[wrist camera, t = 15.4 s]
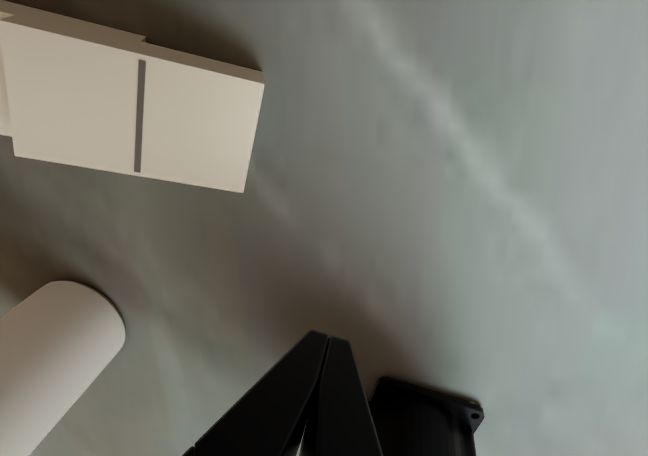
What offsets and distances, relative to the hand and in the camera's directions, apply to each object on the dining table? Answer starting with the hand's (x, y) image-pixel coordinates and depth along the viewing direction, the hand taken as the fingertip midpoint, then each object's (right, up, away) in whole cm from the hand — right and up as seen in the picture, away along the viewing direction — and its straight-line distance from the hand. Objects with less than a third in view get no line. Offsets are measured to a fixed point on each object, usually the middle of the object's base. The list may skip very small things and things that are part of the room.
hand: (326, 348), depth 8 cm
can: (-16, -3, +19) cm, 26 cm away
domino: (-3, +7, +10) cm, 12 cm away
